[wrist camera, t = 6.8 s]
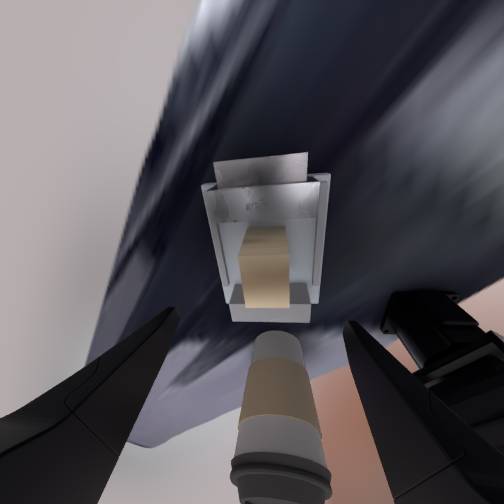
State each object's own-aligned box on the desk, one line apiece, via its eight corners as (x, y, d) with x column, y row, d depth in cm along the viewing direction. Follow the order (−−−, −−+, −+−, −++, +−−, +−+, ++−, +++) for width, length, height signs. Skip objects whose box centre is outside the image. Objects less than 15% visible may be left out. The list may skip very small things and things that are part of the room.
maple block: (285, 269, 20) (289, 308, 15) (252, 270, 20) (245, 307, 16) (285, 225, 17) (289, 254, 13) (247, 227, 18) (237, 256, 13)
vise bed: (316, 296, 23) (324, 326, 19) (228, 296, 24) (219, 324, 20) (327, 172, 16) (343, 179, 12) (205, 183, 18) (186, 192, 14)
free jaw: (310, 206, 16) (317, 217, 14) (221, 212, 17) (212, 223, 15) (313, 150, 14) (322, 151, 12) (212, 161, 15) (200, 163, 13)
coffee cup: (259, 317, 25) (244, 494, 12) (320, 337, 26) (366, 525, 13) (240, 353, 30) (213, 512, 17) (292, 369, 30) (305, 534, 17)
